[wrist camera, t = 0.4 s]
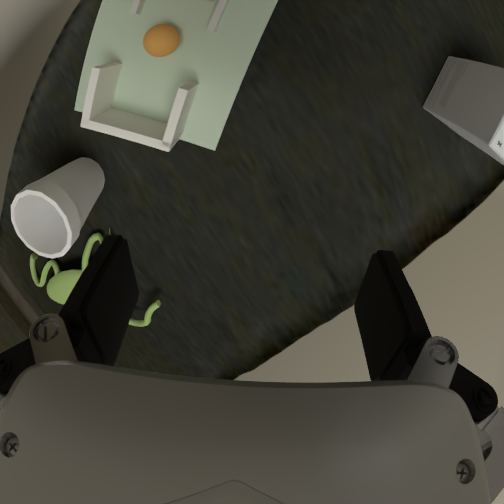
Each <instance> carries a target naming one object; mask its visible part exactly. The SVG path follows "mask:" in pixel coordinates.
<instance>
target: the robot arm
mask: <svg viewBox="0 0 504 504" xmlns="http://www.w3.org/2000/svg"><path fill="white" fill-rule="evenodd" d="M138 296H139V291H138V286H137V282H136V278H135V274H134V270H133V266H132V261H131V257H130V252H129V248H128V243H127V240H126V239H123V237H122V236H121V235H109V234H108V235H106V237H105V238H104V240H103V241H102V243H101V244H100V246H99V248H98V249H97V251H96V252H95V254H94V256H93V257H92V259H91V260H90V262H89V264H88V265H87V267H86V268H85V269H84V271H83V272H82V274H81V276H80V277H79V279H78V281H77V283H76V284H75V286H74V288H73V290H72V291H71V293H70V295H69V297H68V298H67V300H66V302H65V304H64V306H63V308H62V309H61V311H60V313H59V315H56V314H46V315H43V316H41V317H40V318H38V319H37V320H36V321H35V322H34V323H33V325H32V326H31V328H30V332H29V334H30V338H29V339H27V340H25V341H23V342H21V343H19V344H17V345H16V346H14V347H12V348H10V349H8V350H6V351H4V352H2V353H1V354H0V504H491V503H492V501H494V499H495V498H496V497H497V496H498V494H499V493H500V492H501V490H502V489H503V488H504V408H503V407H501V408H498V406H497V404H498V398H497V394H496V392H495V390H494V389H493V387H491V386H490V385H489V384H488V383H486V382H485V381H483V380H482V379H481V378H479V377H478V376H476V375H475V374H473V373H472V372H470V371H469V370H468V369H466V368H465V367H463V366H462V365H460V364H459V363H458V358H459V356H458V351H457V349H456V347H455V346H454V345H453V343H452V342H450V341H449V340H448V339H446V338H443V337H439V336H435V337H432V336H431V334H430V331H429V329H428V326H427V324H426V322H425V319H424V317H423V314H422V312H421V310H420V307H419V305H418V302H417V300H416V298H415V296H414V293H413V291H412V289H411V287H410V286H409V284H408V282H407V280H406V278H405V276H404V273H403V271H402V269H401V267H400V265H399V263H398V261H397V259H396V257H395V255H394V253H393V251H385V250H378V251H377V253H376V254H373V255H372V257H371V260H370V263H369V266H368V268H367V271H366V274H365V277H364V280H363V283H362V285H361V288H360V291H359V294H358V296H357V299H356V302H355V306H354V308H355V314H356V318H357V323H358V327H359V331H360V334H361V339H362V343H363V348H364V352H365V356H366V361H367V365H368V370H369V375H370V379H371V381H368V382H336V383H284V382H283V383H282V382H281V383H280V382H254V381H236V380H222V379H210V378H199V377H189V376H179V375H171V374H163V373H155V372H148V371H141V370H134V369H127V368H121V367H114V366H113V365H114V364H115V361H116V358H117V355H118V352H119V349H120V346H121V343H122V341H123V338H124V335H125V332H126V329H127V327H128V324H129V321H130V318H131V316H132V313H133V310H134V308H135V305H136V302H137V300H138Z"/></svg>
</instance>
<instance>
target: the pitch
mask: <svg viewBox="0 0 504 504" xmlns="http://www.w3.org/2000/svg"><path fill="white" fill-rule="evenodd" d="M277 2H278V0H213V2H212V1H209V0H103V1H102V4H101V6H100V9H99V12H98V15H97V19H96V22H95V25H94V28H93V32H92V35H91V39H90V42H89V46H88V50H87V53H86V57H85V61H84V66H83V70H82V74H81V79H80V84H79V88H78V93H77V99H76V104H75V110H76V111H80V112H83V114H82V120H81V127H83V128H87V129H91V130H95V131H99V132H102V133H106V134H109V135H113V136H117V137H120V138H124V139H127V140H131V141H134V142H137V143H141V144H144V145H147V146H151V147H154V148H157V149H160V150H164V151H167V152H169V151H170V150H171V149H172V147H173V146H174V145H175V144H176V142H177V141H178V140H179V139H181V140H184V141H187V142H190V143H193V144H196V145H199V146H202V147H205V148H208V149H211V150H214V151H215V149H216V147H217V144H218V141H219V139H220V136H221V133H222V131H223V128H224V125H225V123H226V120H227V118H228V115H229V113H230V110H231V107H232V105H233V102H234V100H235V97H236V95H237V92H238V90H239V88H240V85H241V83H242V80H243V78H244V75H245V73H246V71H247V68H248V66H249V64H250V61H251V59H252V57H253V54H254V52H255V50H256V47H257V45H258V43H259V41H260V38H261V36H262V34H263V32H264V30H265V27H266V25H267V23H268V21H269V19H270V17H271V14H272V12H273V10H274V8H275V6H276V4H277ZM158 24H168V25H171V26H173V27H174V28H175V29H176V30H177V31H178V33H179V37H180V41H179V45H178V47H177V48H176V50H175V51H174V52H173V53H171V54H170V55H167V56H164V57H155V56H152V55H150V54H149V53H147V51H146V50H145V48H144V46H143V38H144V35H145V34H146V32H147V31H148V30H149V29H150V28H151V27H153V26H155V25H158Z"/></svg>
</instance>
